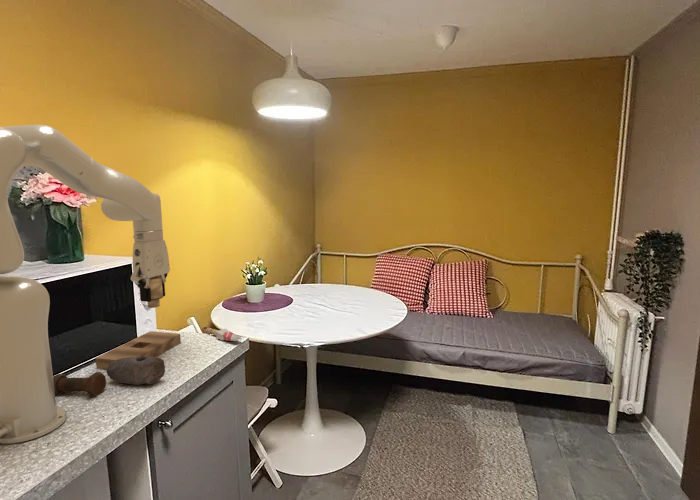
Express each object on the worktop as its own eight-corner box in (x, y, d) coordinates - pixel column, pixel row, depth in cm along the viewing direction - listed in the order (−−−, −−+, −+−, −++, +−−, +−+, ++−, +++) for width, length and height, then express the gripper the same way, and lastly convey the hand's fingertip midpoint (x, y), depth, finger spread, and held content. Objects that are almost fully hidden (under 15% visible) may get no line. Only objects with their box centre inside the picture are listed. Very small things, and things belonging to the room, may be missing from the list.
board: (130, 372, 114) (129, 361, 114) (96, 368, 117) (95, 358, 116) (180, 342, 135) (180, 333, 135) (150, 340, 138) (150, 331, 137)
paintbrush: (232, 336, 132) (198, 326, 144) (233, 345, 132) (198, 334, 145) (243, 333, 135) (208, 323, 147) (243, 341, 135) (208, 331, 148)
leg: (155, 309, 121) (153, 280, 120) (139, 308, 122) (137, 279, 121) (167, 304, 126) (165, 276, 125) (152, 303, 127) (150, 275, 126)
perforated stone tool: (101, 385, 107) (98, 359, 106) (115, 376, 112) (113, 351, 111) (155, 389, 104) (153, 362, 103) (168, 380, 109) (166, 354, 108)
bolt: (45, 397, 105) (103, 398, 103) (29, 396, 100) (89, 397, 98) (51, 372, 107) (108, 372, 105) (36, 371, 102) (95, 371, 101)
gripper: (137, 240, 112) (142, 307, 115) (179, 233, 129) (182, 292, 131) (114, 239, 114) (119, 305, 117) (158, 233, 130) (162, 291, 133)
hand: (153, 298), depth 124 cm, fingers closed on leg, 5 cm apart
